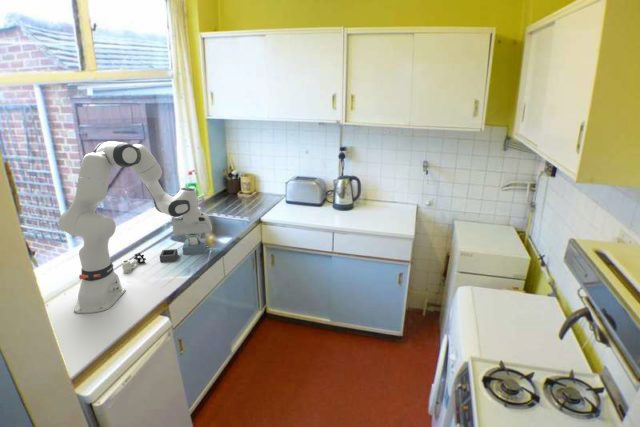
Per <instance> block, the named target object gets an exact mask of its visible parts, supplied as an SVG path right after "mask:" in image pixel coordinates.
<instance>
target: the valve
mask: <svg viewBox="0 0 640 427" xmlns="http://www.w3.org/2000/svg"><path fill="white" fill-rule="evenodd" d="M146 260H147V259H146V258H145V255H144V254H141V252H138V253H135V254H134V257H133V261H131V260H129V259H124V260H122V261H121V264H122V267H121V268H122V270H123V273H125V274H129V273H131V272H133V267H135V265H136V264H145V263H146Z"/></svg>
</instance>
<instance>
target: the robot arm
mask: <svg viewBox="0 0 640 427" xmlns="http://www.w3.org/2000/svg"><path fill="white" fill-rule="evenodd" d="M113 167H114V168H132V169H133V170H132V171H133V172H134V173H135V174H136V176H137V177H138V178H139V179H140V180H141V182H142V183H143V184H144V185H145V188H146V189H147V191H148V192H149V194H150V195H151V197H152V200H153V203H154V207H155V210H157V212H160V213H164V214H165V215H168V216H171V217H173V218H172V219H171V221H170V222H171V225H172V233H173V235H175V236H176V235H177V236H178V235H179V236H180V235H184V237H185V239H186V240H188V241H190V237H189V235H190V234H196V233H197V235H198V237H197V241H200V239H201V236H202V234H210V233H212V231H213V226H212V221H211V219H210V218H209V214H208V213H205V212H203V211H202V212H201V211H200V209H199V206H198V205H199V201H198V199H199V198H198V195H197V192H196V190H195V189H194V188H191V187H182V188H180V189H179V191H178V192H177V193H176V194H175V195H174V196H172V195H170V194H168V193H167V192H165V190H164V189H163V187H162V186H161V183H160V182H159V180H160V179H161V177H162V174H163V169H162V168H161V165H160V163H159V162H158V161H157V159H156V158H155V156H154V155H153V154H152V152H151V151H150V150H149V149H148V148H147V147H146V146H145V145H144V144H142V143H134V144H130V143H129V142H120V141H117V140H116V141H113V140H112V141H103V142H99V143H98V144H97V145H96V146H95V148H94V150H93V151H92V152H90V153H86V154H85V155H84V156H83V159H82V161H81V164H80V167H79V172H78V177H77V184H76V191H75V195H74V198H73V200H72V203H71V204H70V205H69V206H70V207H69V208H68V209H66V211H64V212H62V214H61V215H60V217H59V220H58V225H59V227H60V229H61V230H63V231H64V232H65V233H67V234H69V235H71V236H76V237H81V238H82V239H83V240H82V241H83V246H82V247H81V248H80V249H79V250H78V251H79V252H78V257H79V260H80V265H81V271H80V273H81V274H79V278H78V279H79V280H81V282H80V287H79V291H78V295H77V300H76V303H75V306H74V309H73V312H74V313H77V314H92V313H99V312H103V311H107V310H109V309H111V307H112V306H113V305H114V304H115V303H116V302H117V301H118V300H119V298H121V297H122V295H123V294H125V292H126V288H124V287H122V284H121V280H120V277H119V275H118V274H117V273H116V272H115V271H114V264H113V262H112V260H111V258H110V257H111V256H110V253H109V252H110V250H109V241H110V239H111V238H112V237H113V236H114V234H115V233H116V230H117V229H116V227H117V225H116V221H115V219H113V218H111V217H110V216H108V215H106V214H104V213H97V212H96V211H97V209H98V207H99V205H100V204H102V203H103V202H105V201H106V199H107V195H108V194H107V193H108V186H109V180H110V179H109V178H110V172H111V170H112V169H113Z"/></svg>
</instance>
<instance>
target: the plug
mask: <svg viewBox="0 0 640 427" xmlns="http://www.w3.org/2000/svg"><path fill="white" fill-rule="evenodd" d="M188 236H189V237H190V244H191V245H199V243H198V241H197V237H199V234H198V233H196V234H188Z"/></svg>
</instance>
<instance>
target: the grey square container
mask: <svg viewBox="0 0 640 427" xmlns="http://www.w3.org/2000/svg"><path fill="white" fill-rule="evenodd" d="M178 256H179V253H178V248H172V249H162V250H161V252H160V254H159V260H160V261H159V262H160V263H168V262H169V263H171V262H176V261H177V258H178Z"/></svg>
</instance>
